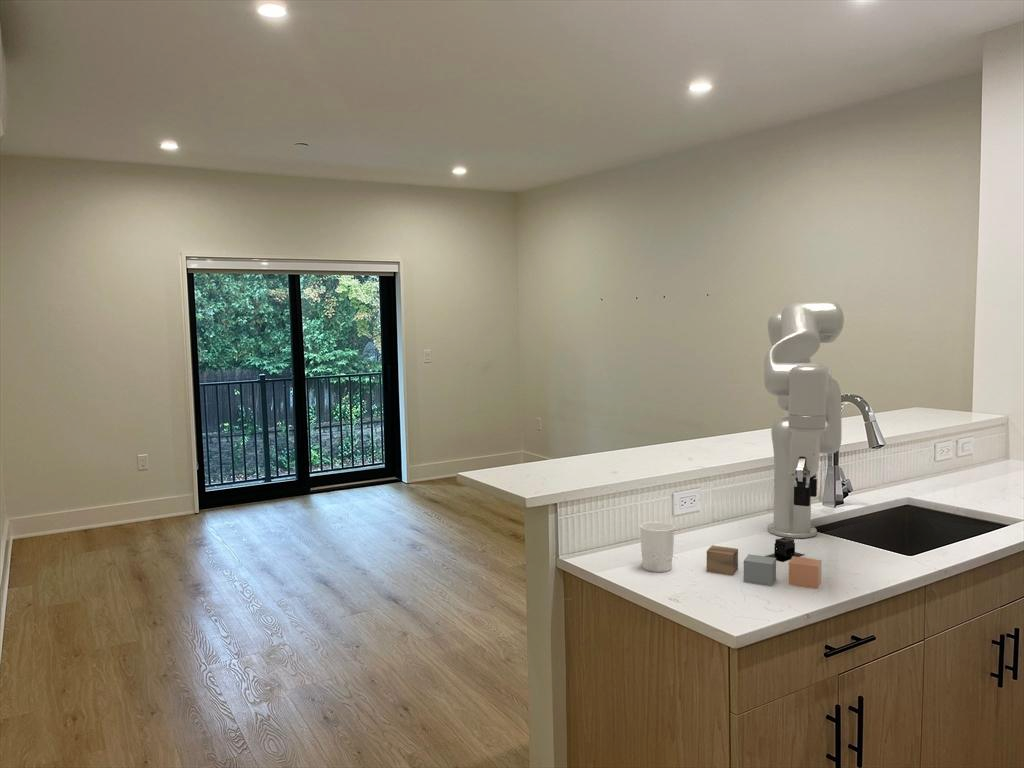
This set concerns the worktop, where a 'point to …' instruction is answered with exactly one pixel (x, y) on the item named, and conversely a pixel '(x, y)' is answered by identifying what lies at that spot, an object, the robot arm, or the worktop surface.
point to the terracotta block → (805, 572)
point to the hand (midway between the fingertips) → (805, 500)
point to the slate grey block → (759, 570)
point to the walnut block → (722, 560)
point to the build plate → (784, 550)
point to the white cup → (657, 546)
